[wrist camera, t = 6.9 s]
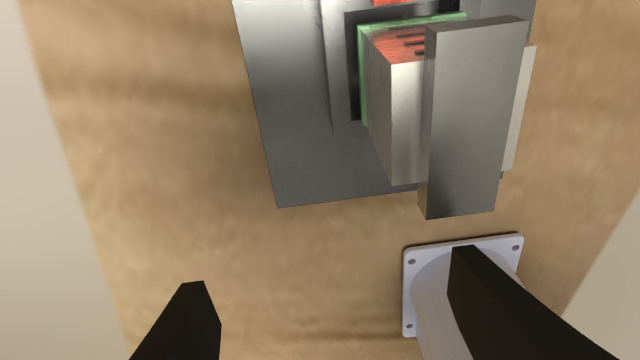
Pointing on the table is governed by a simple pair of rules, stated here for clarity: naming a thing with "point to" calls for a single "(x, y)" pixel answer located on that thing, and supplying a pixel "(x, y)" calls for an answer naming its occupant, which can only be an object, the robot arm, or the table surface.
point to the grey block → (445, 103)
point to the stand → (326, 89)
